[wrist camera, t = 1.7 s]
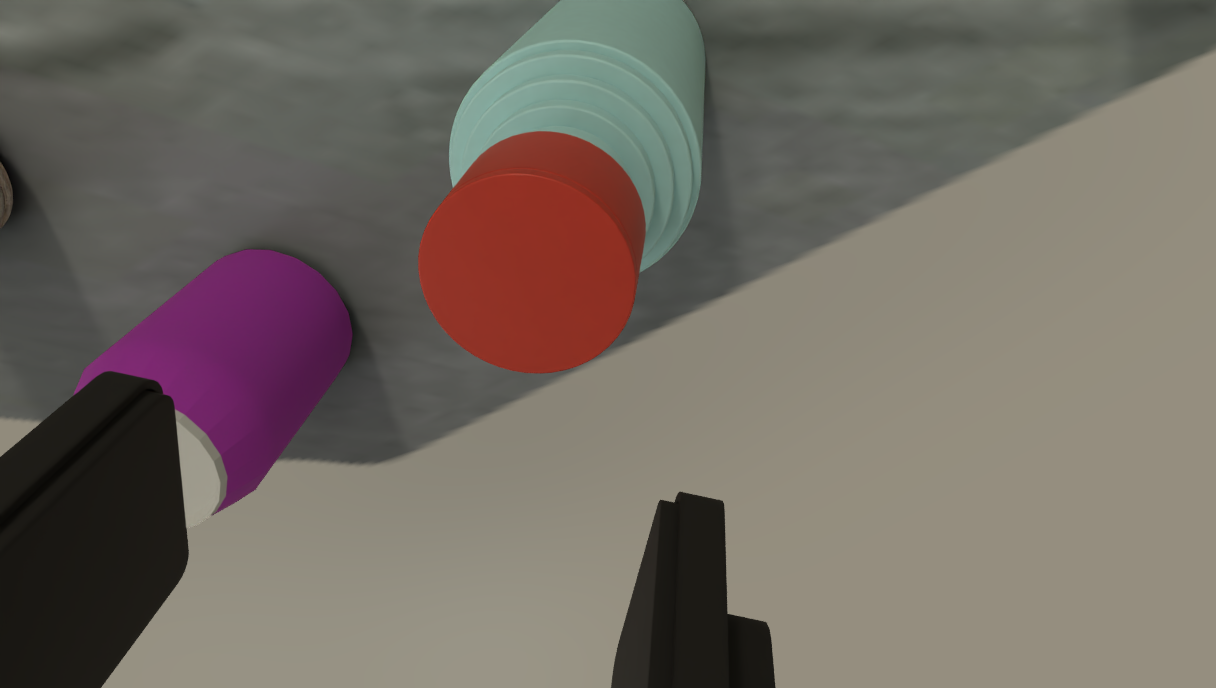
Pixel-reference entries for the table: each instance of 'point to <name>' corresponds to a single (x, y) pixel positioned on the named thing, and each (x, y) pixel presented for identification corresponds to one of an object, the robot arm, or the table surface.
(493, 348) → the cap
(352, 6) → the table surface
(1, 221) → the carving
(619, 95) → the water bottle
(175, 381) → the beverage can
